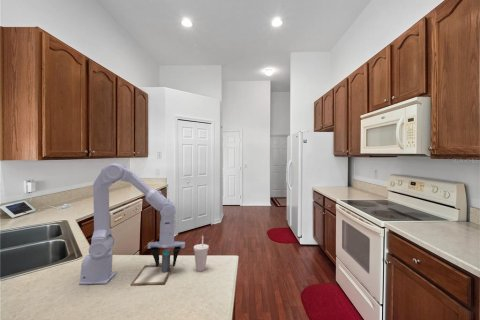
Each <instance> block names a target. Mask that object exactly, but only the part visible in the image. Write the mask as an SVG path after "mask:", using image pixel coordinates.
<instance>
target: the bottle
mask: <svg viewBox="0 0 480 320" xmlns="http://www.w3.org/2000/svg"><path fill="white" fill-rule="evenodd" d="M171 251H172V250H171V249H164V250H161V263H162V272H163V273H166V272H169V271H170V265H171V253H172V252H171Z"/></svg>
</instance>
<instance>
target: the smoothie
mask: <svg viewBox="0 0 480 320" xmlns="http://www.w3.org/2000/svg"><path fill="white" fill-rule="evenodd" d="M208 250H210V248H209V244H206V243H204V235H202V236H201V243H200V244H195V245H194V246H193V252H194V262H195V270H196V272H197V273H198V272H200V273H201V272H204V271H206V270H205V269H206V265H207V257H208V252H209V251H208Z"/></svg>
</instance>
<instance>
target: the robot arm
mask: <svg viewBox="0 0 480 320" xmlns="http://www.w3.org/2000/svg"><path fill="white" fill-rule="evenodd" d="M118 181H120V182H125V183H129V184H131V185H132V186H133V187H134V188H136V189H137V190H138V191H139V192H141V193H142V194H143V195H145V201H146V202H147V203H148V204H149V205H151V206H152V207H153V208H154V209H155V210H156V211H159V214H160V221H159V241H149V242H147V249H150V254H151V255H152V257H153V260H154V263H156V267H158V265H159V263H160V251H161V249H169V248H171V249H172V248H173V250H172V254H173V257H172V258H173V259H172V265H173V267H175V266H176V263H177V258H178V256H179V254H180V251H181V249H185V247H186V242H185V241H177V240H175V225H176V221H175V219H176V218H175V217H176V215H175V214H176V207H175V204H174V203H173V202H172V201H171V199H169V198H167V197H165V196H164V195H163V194H162V191H161V190H158V189H152V188H150V187H149V186H148V185H147V184H146V182H144V181H143V180H142V179H141V177H140V176H138V175H137V174H136V172H134V171H133V170H132V169H130V168H128V167H127V166H125V164H122V163H114V162H113V163H110V164H107V165H105V166H104V167H103V168H101V170H100V173H99V175H97V177H96V178H95V180H94V182H93V185H92V190H93V192H92V194H93V234H92V236H91V242H90V243H91V244H90V245H89V247H88V255H85V256H84V257H83V260H82V262H81V266H80V281H79V282H78V284H79V285H98V284H99V285H100V284H101V285H102V284H108V283H109V282H110V280H111V279H113V277H115V275H117V272H116V271H115V272H113V253H114V252H113V250H112V247H113V246H114V244H115V238H114V236H113V234H112V233H113V232H112V229H111V227H110V226H111V225H110V222H111V221H110V220H111V219H110V187H112V185H114V184H115V183H116V182H118Z"/></svg>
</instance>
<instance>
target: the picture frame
mask: <svg viewBox="0 0 480 320" xmlns="http://www.w3.org/2000/svg"><path fill="white" fill-rule="evenodd" d="M173 267H174V266H173V264H170V271H169V272H166V273H163V272H162V262H159V265H158V267H156V263H155V262H151V263H150V264H145V265H144V266H143V267H142V269H141V270H140V272H139V273H138V274H137V275H136V276H135V278H134V279H133V281H132V282H131V283H130V286H131V287H132V286H133V287H134V286H164V285H166V283H167V282H168V281H167V280H168V279H169V276H170V274H171V272H172V270H173Z"/></svg>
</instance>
